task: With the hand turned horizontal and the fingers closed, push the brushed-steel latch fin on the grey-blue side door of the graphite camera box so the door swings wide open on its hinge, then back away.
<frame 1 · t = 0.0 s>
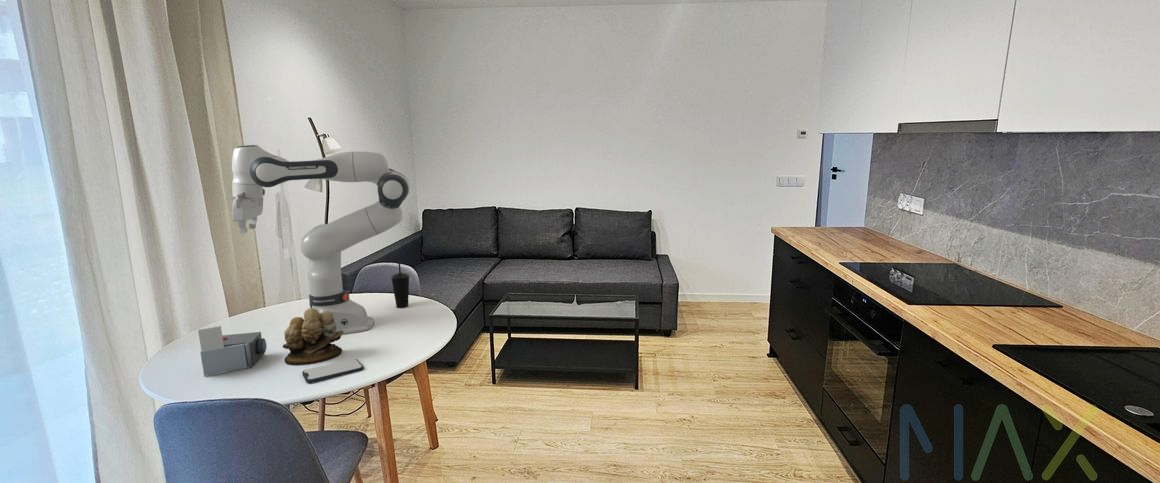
hand: (248, 230, 182), 39 cm above the table, tool pointing down, fingers open, 8 cm apart
camera body: (236, 362, 166), on the table
side door: (225, 348, 158), point 8 cm above the table, hinge at 15.0°
drinking cup: (402, 306, 221), on the table
owl figurine: (315, 357, 170), on the table
phone case: (333, 373, 159), on the table
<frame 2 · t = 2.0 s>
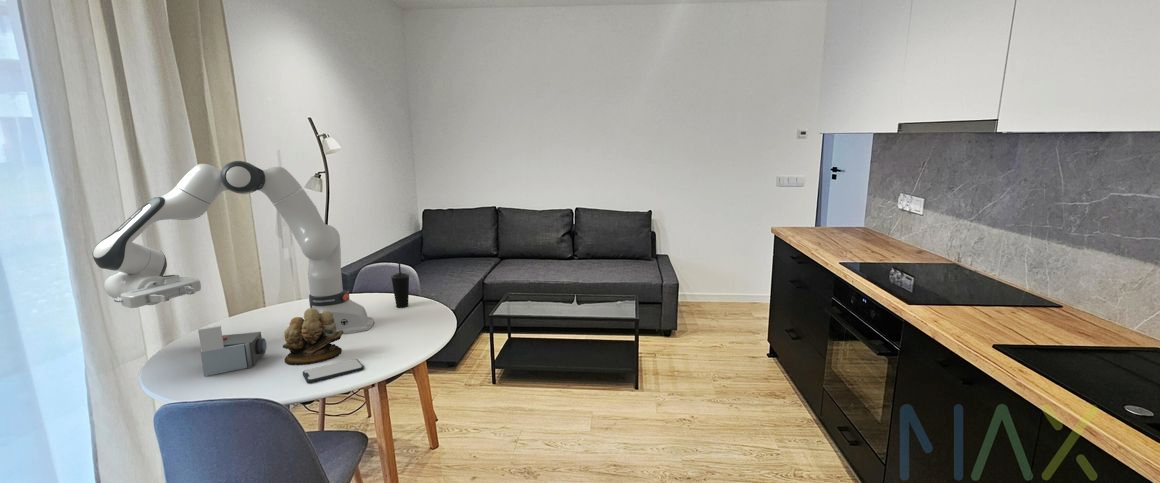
hand: (180, 294, 156), 24 cm above the table, tool horizontal, fingers open, 6 cm apart
nothing on the table moved.
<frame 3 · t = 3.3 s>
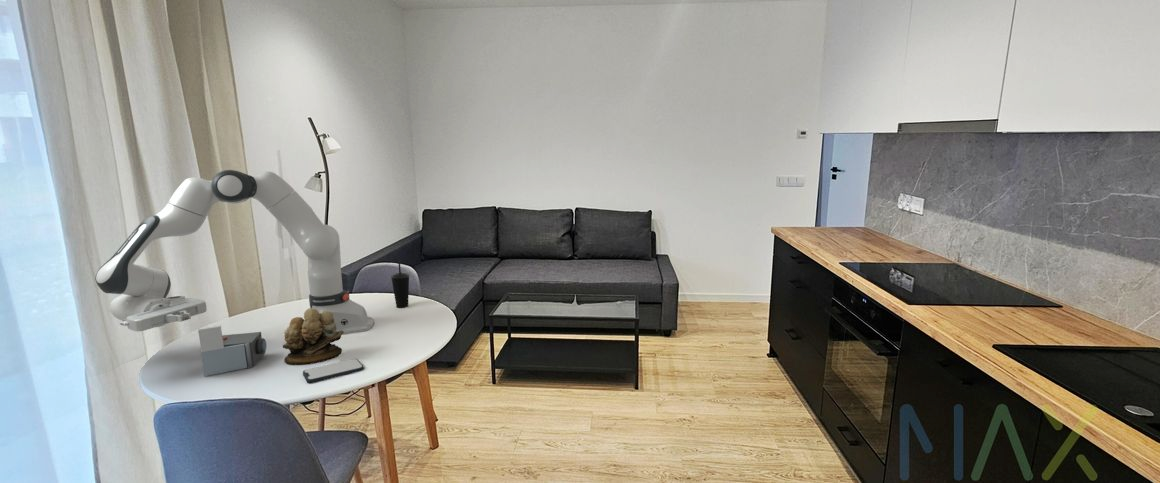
hand: (185, 317, 156), 17 cm above the table, tool horizontal, fingers closed
nothing on the table moved.
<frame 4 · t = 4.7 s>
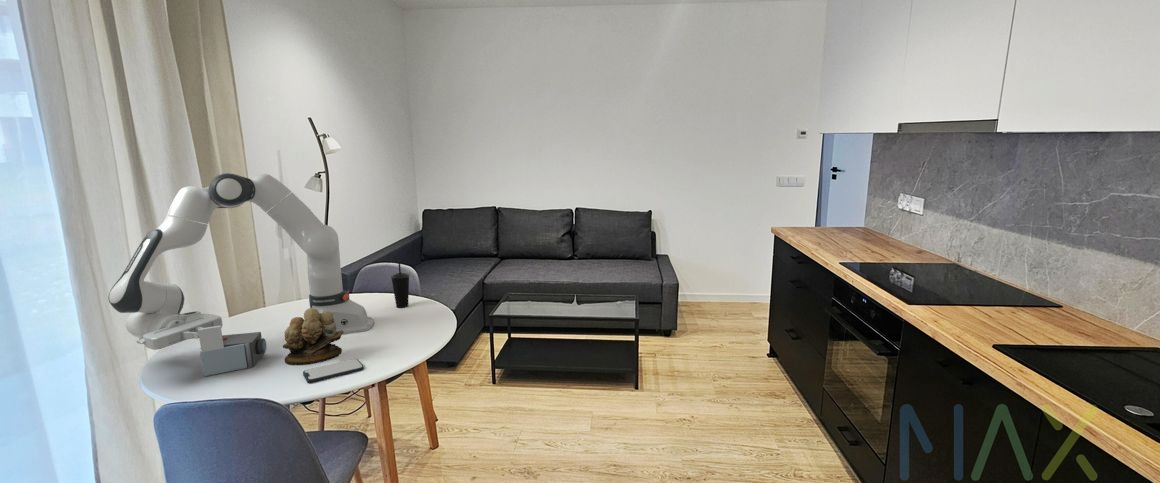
hand: (202, 334, 155), 13 cm above the table, tool horizontal, fingers closed
side door: (225, 348, 158), point 8 cm above the table, hinge at 15.9°, touching gripper
everything else where it was.
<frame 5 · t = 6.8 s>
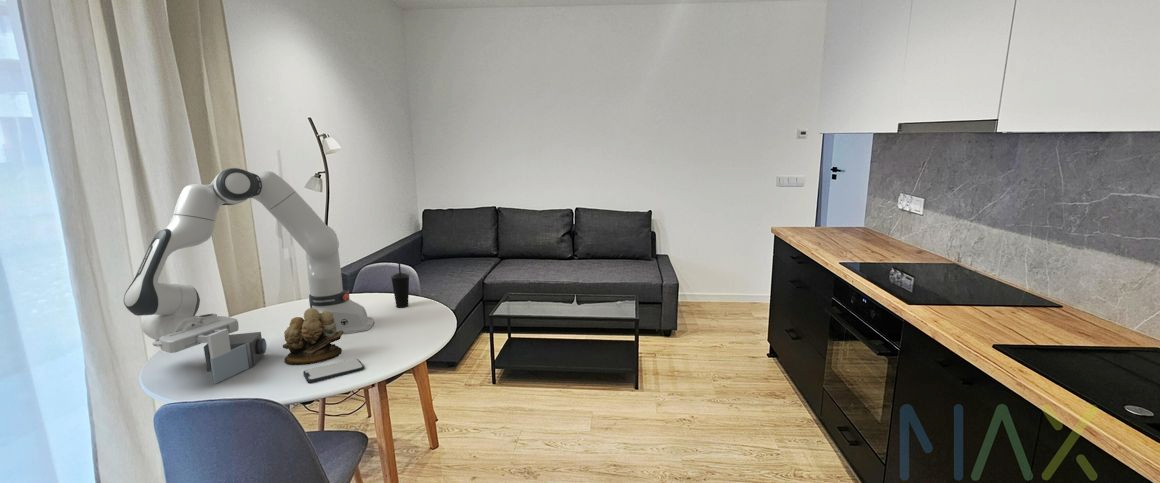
hand: (218, 338, 152), 13 cm above the table, tool horizontal, fingers closed
side door: (230, 352, 155), point 7 cm above the table, hinge at 58.2°, touching gripper
everything else where it was.
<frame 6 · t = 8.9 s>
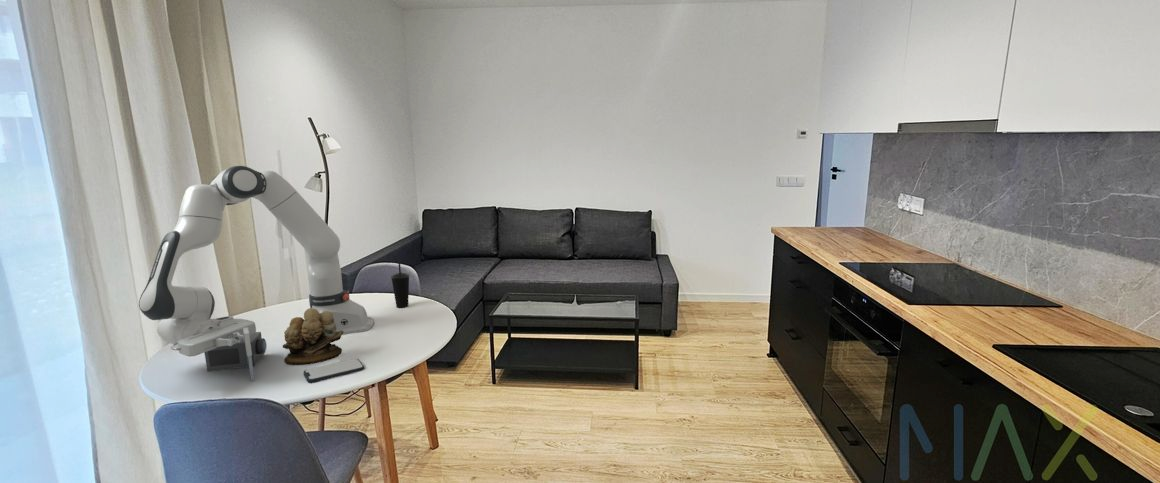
hand: (237, 340, 150), 13 cm above the table, tool horizontal, fingers closed
side door: (248, 350, 156), point 7 cm above the table, hinge at 109.7°, touching gripper
everything else where it was.
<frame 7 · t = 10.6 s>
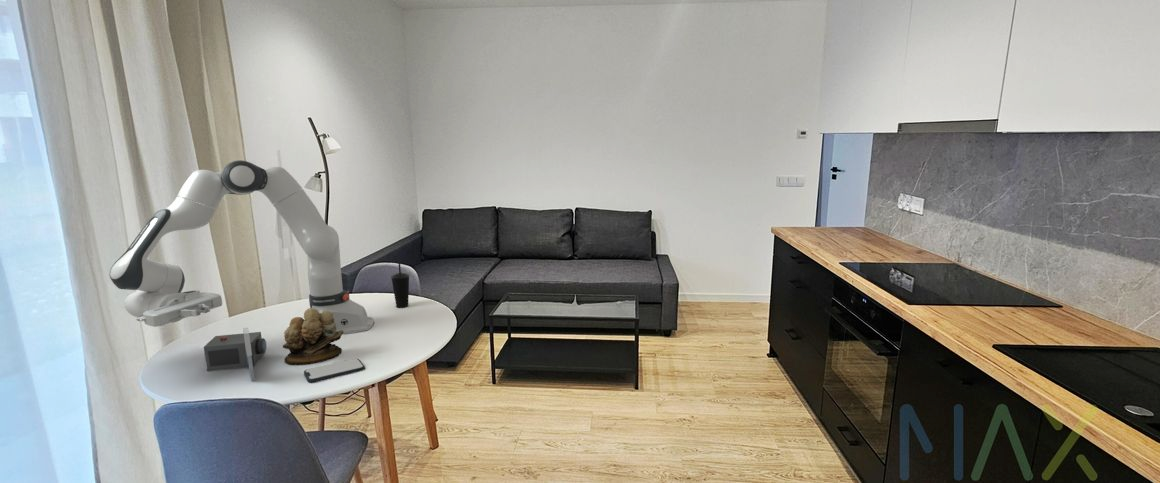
hand: (202, 311, 154), 20 cm above the table, tool horizontal, fingers closed
side door: (248, 350, 156), point 8 cm above the table, hinge at 109.7°
everything else where it was.
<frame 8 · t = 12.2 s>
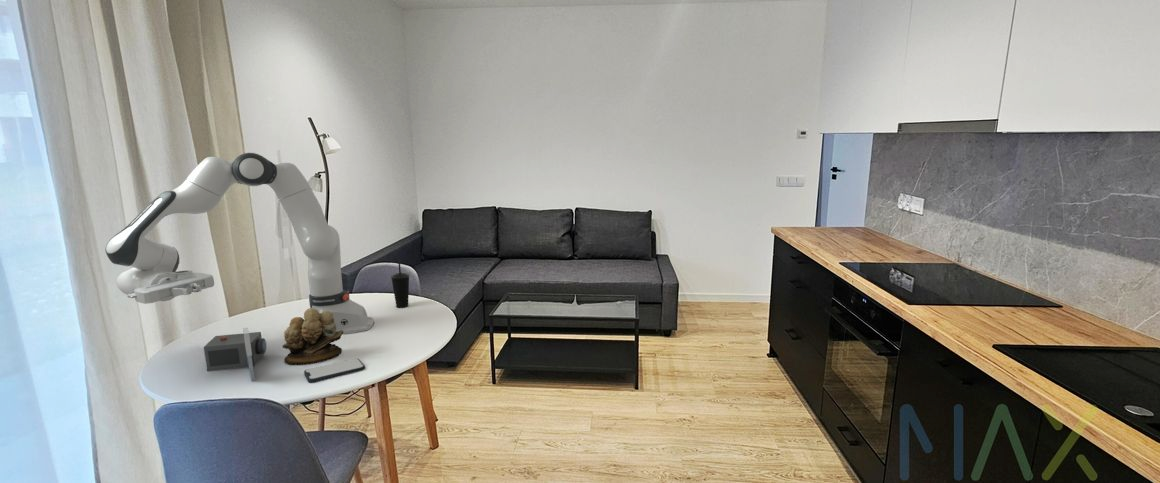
hand: (193, 290, 154), 26 cm above the table, tool horizontal, fingers closed
nothing on the table moved.
at the end: side door at +110° (first picture: +15°); side door touching nothing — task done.
